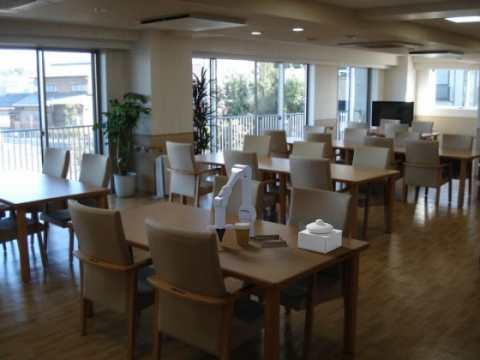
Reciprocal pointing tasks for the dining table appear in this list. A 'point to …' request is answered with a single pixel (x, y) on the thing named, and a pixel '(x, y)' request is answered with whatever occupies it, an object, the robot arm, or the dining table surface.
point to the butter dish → (319, 237)
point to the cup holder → (273, 236)
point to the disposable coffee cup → (242, 233)
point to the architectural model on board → (302, 227)
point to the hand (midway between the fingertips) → (220, 241)
